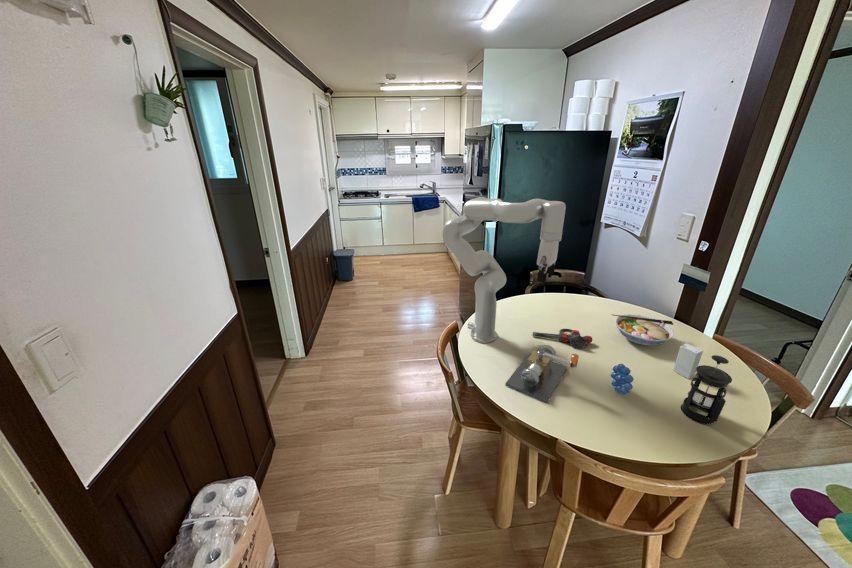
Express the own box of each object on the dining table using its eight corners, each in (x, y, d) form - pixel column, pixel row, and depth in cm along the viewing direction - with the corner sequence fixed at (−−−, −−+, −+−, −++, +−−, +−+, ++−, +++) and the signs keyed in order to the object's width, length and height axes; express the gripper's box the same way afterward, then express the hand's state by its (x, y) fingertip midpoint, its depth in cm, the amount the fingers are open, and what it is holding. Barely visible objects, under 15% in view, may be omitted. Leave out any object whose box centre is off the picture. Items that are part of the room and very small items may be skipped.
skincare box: (694, 376, 130) (704, 350, 125) (688, 379, 129) (698, 353, 124) (678, 367, 135) (687, 342, 131) (671, 370, 134) (680, 345, 129)
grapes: (638, 403, 118) (647, 376, 113) (619, 403, 118) (626, 376, 113) (622, 381, 128) (629, 355, 124) (604, 381, 129) (610, 355, 124)
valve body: (505, 385, 127) (507, 364, 123) (528, 354, 145) (531, 335, 141) (546, 403, 118) (550, 381, 114) (566, 368, 136) (570, 348, 132)
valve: (588, 337, 160) (593, 351, 146) (532, 332, 168) (531, 344, 154) (590, 325, 158) (595, 338, 145) (533, 320, 166) (532, 331, 152)
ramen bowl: (611, 347, 149) (615, 332, 145) (607, 323, 168) (610, 309, 165) (678, 360, 140) (684, 343, 137) (665, 332, 159) (670, 317, 156)
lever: (535, 355, 127) (536, 345, 125) (537, 352, 129) (539, 341, 127) (575, 370, 119) (577, 358, 117) (577, 366, 121) (579, 355, 119)
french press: (673, 401, 118) (693, 347, 109) (700, 402, 118) (723, 348, 108) (695, 428, 108) (719, 371, 98) (725, 429, 107) (753, 372, 98)
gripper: (548, 229, 132) (543, 269, 138) (532, 239, 119) (528, 283, 126) (568, 231, 127) (562, 272, 134) (553, 242, 115) (547, 287, 122)
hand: (545, 277), depth 130 cm, fingers open, 9 cm apart
